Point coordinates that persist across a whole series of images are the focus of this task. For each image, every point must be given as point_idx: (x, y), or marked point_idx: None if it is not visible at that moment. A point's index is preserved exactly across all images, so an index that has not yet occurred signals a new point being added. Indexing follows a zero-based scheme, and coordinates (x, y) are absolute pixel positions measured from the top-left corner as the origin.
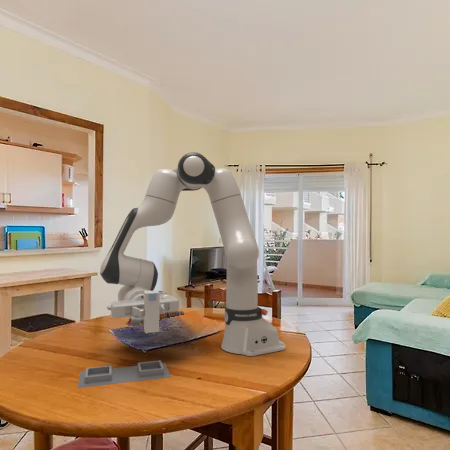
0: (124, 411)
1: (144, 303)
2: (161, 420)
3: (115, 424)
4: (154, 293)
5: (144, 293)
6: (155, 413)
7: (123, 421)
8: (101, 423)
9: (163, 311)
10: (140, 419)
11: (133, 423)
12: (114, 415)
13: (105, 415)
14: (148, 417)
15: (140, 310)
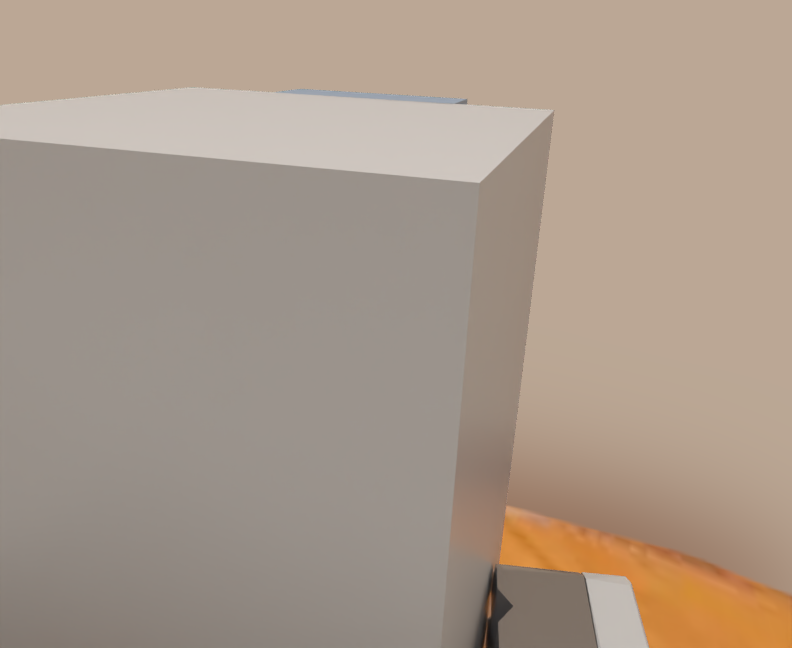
0: (664, 631)
1: (491, 491)
2: (515, 509)
3: (701, 563)
4: (337, 92)
5: (523, 183)
6: (523, 553)
7: (667, 566)
8: (767, 595)
9: None
10: (594, 547)
11: (625, 538)
12: (713, 623)
13: (762, 644)
14: (559, 544)
15: (603, 576)
